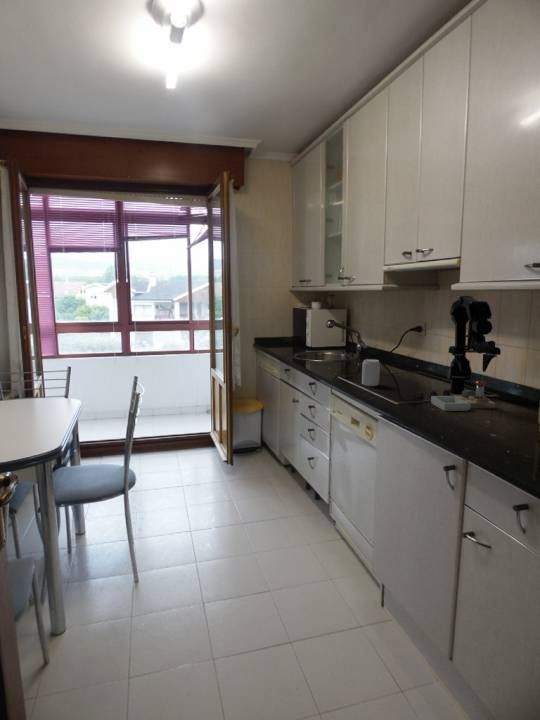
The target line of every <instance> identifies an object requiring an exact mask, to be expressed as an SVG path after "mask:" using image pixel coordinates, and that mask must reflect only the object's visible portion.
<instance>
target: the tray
mask: <svg viewBox="0 0 540 720" xmlns="http://www.w3.org/2000/svg"><path fill="white" fill-rule="evenodd" d="M430 397H431V398H430V403H431V404H432V405H434V406H436V407H437V408H439V409H440V410H443V411H444V412H451V411H452V412H453V411H454V412H458V411H462V412H465V411H470V409H471V408H470V403H468V402H466V401H464V400H462V399H460V398H458V397H456V396H454V395H431V396H430Z"/></svg>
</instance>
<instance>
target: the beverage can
mask: <svg viewBox="0 0 540 720" xmlns="http://www.w3.org/2000/svg"><path fill="white" fill-rule="evenodd" d="M361 370H362V371H361V385H363V386H365V387H377V386H379V384H380V372H381V371H380V370H381V363H380V360H379V359H373V358H372V359H371V358H367V359H363V361H362V368H361Z"/></svg>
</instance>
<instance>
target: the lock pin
mask: <svg viewBox="0 0 540 720" xmlns="http://www.w3.org/2000/svg"><path fill="white" fill-rule="evenodd" d="M474 383H475V385H476V388H475V392H476V397H475V398H476V399H483V397H484V394H485V386H486V385H487V382H486V381H484V380H475V382H474Z"/></svg>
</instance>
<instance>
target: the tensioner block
mask: <svg viewBox="0 0 540 720" xmlns="http://www.w3.org/2000/svg"><path fill="white" fill-rule="evenodd" d="M453 396H456V397H458V398H460V399H462V400H464V401H466V402H468V403H470V408H469V409H495V408H496V403H495V402H494V401H492V400H490V398H488V397H486V396H483V399H476V398H475V397H476V390H475V391H474V390H470V389H467V390H464V391H462V393H461V394H453Z"/></svg>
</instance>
